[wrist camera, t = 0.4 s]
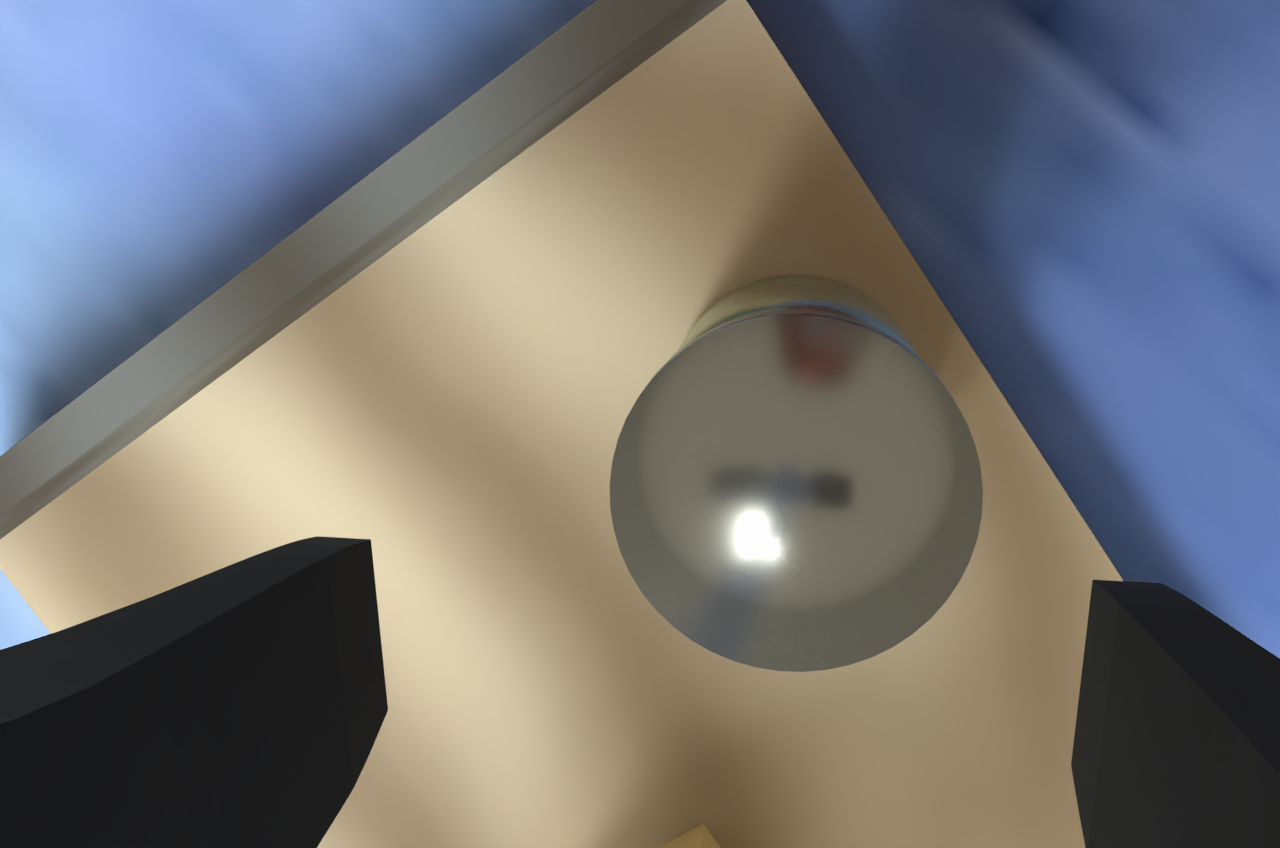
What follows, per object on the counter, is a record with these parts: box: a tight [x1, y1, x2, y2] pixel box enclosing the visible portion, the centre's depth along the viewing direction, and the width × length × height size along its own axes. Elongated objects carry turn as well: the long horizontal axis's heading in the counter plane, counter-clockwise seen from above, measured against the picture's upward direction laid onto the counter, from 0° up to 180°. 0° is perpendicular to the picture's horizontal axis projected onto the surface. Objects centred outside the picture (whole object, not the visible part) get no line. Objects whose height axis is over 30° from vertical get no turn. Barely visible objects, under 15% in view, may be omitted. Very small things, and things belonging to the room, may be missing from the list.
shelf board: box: [0, 0, 1123, 848], centre depth 22 cm, size 18×22×4 cm
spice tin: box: [610, 274, 983, 672], centre depth 18 cm, size 5×5×6 cm
